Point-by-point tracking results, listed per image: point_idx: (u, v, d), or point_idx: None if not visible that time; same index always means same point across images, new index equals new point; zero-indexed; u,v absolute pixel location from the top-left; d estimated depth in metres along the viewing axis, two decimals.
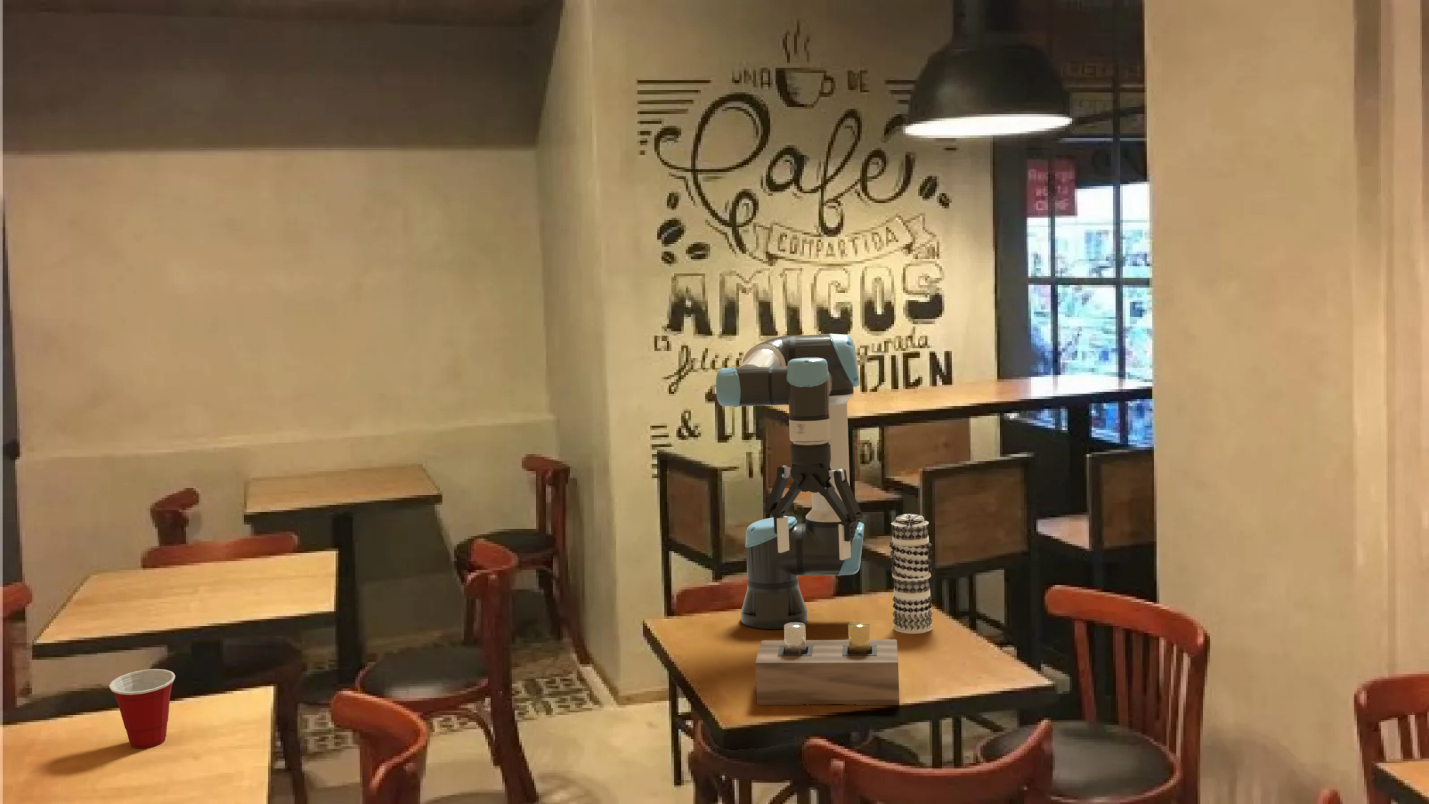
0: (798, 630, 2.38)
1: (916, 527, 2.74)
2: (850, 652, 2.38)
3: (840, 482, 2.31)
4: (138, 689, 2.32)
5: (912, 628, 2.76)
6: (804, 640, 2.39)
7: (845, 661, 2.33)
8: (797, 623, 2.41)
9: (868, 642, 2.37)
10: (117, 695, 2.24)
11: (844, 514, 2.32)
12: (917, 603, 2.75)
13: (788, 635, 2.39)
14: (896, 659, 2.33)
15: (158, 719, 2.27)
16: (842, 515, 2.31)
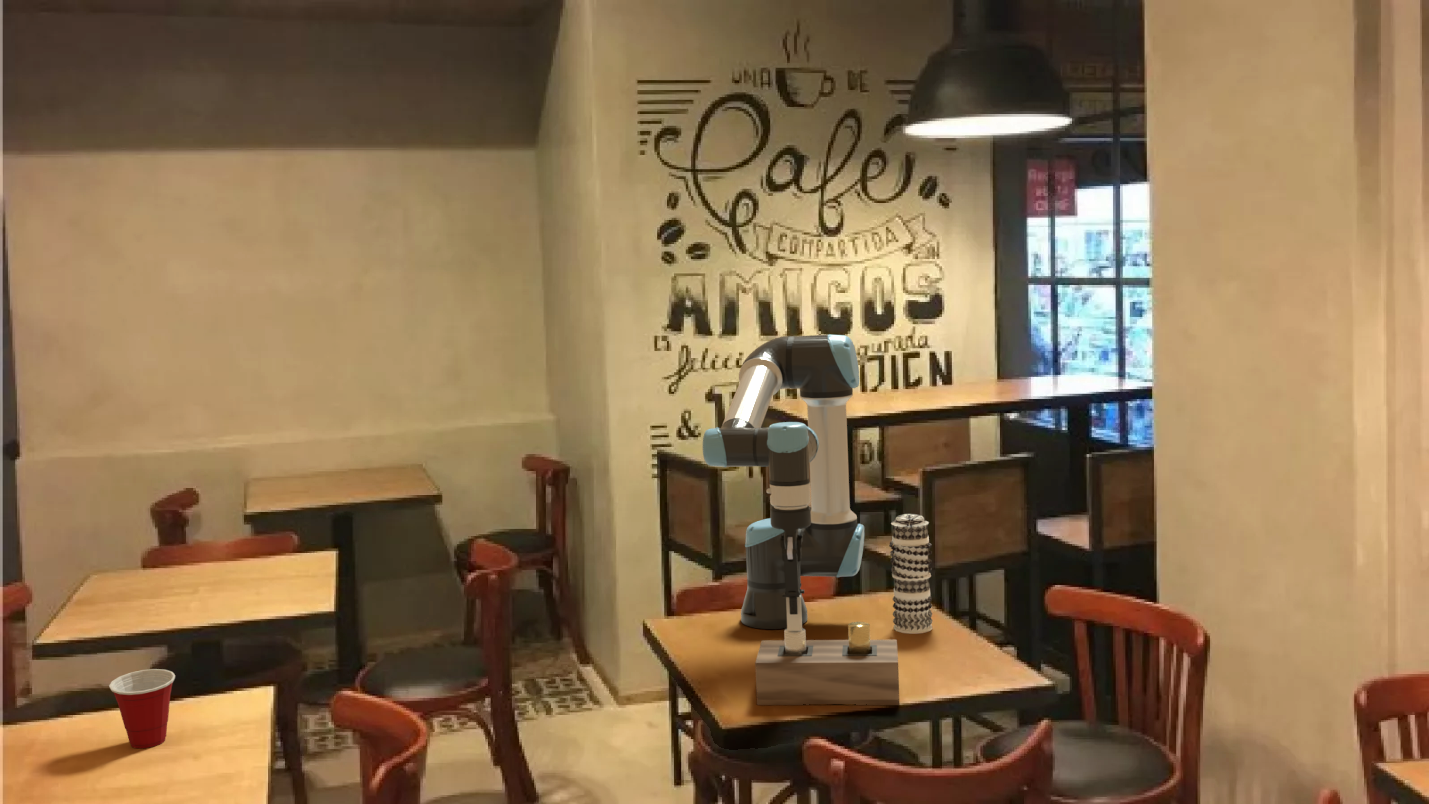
0: (799, 635, 2.38)
1: (916, 527, 2.74)
2: (850, 652, 2.38)
3: (784, 560, 2.33)
4: (138, 689, 2.32)
5: (912, 628, 2.76)
6: (804, 645, 2.39)
7: (845, 661, 2.33)
8: None
9: (868, 642, 2.37)
10: (117, 695, 2.24)
11: None
12: (917, 603, 2.75)
13: (788, 641, 2.39)
14: (896, 659, 2.33)
15: (158, 719, 2.27)
16: None
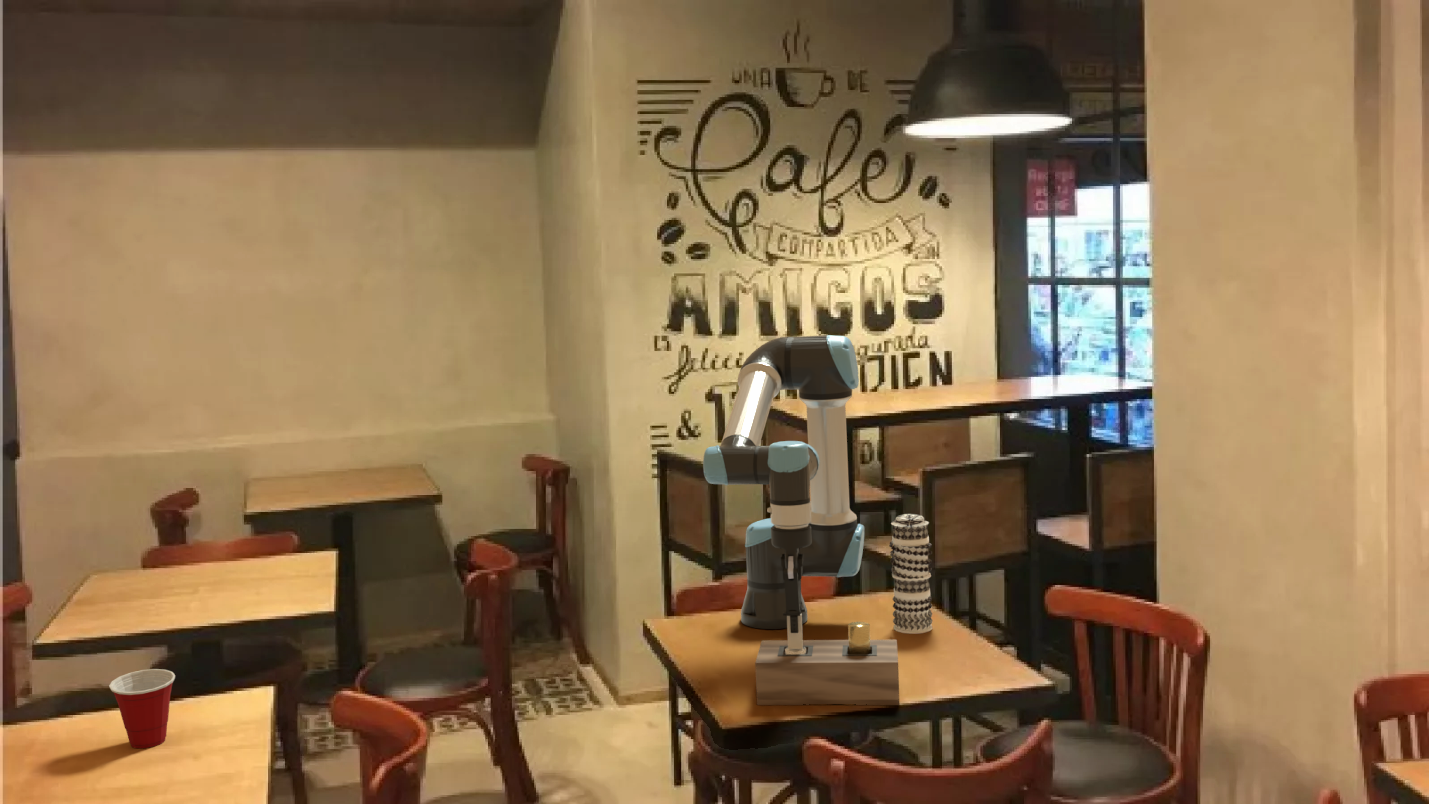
0: None
1: (916, 527, 2.74)
2: (850, 652, 2.38)
3: (785, 580, 2.34)
4: (138, 689, 2.32)
5: (912, 628, 2.76)
6: None
7: (845, 661, 2.33)
8: None
9: (868, 642, 2.37)
10: (117, 695, 2.24)
11: None
12: (917, 603, 2.75)
13: None
14: (896, 659, 2.33)
15: (158, 719, 2.27)
16: None
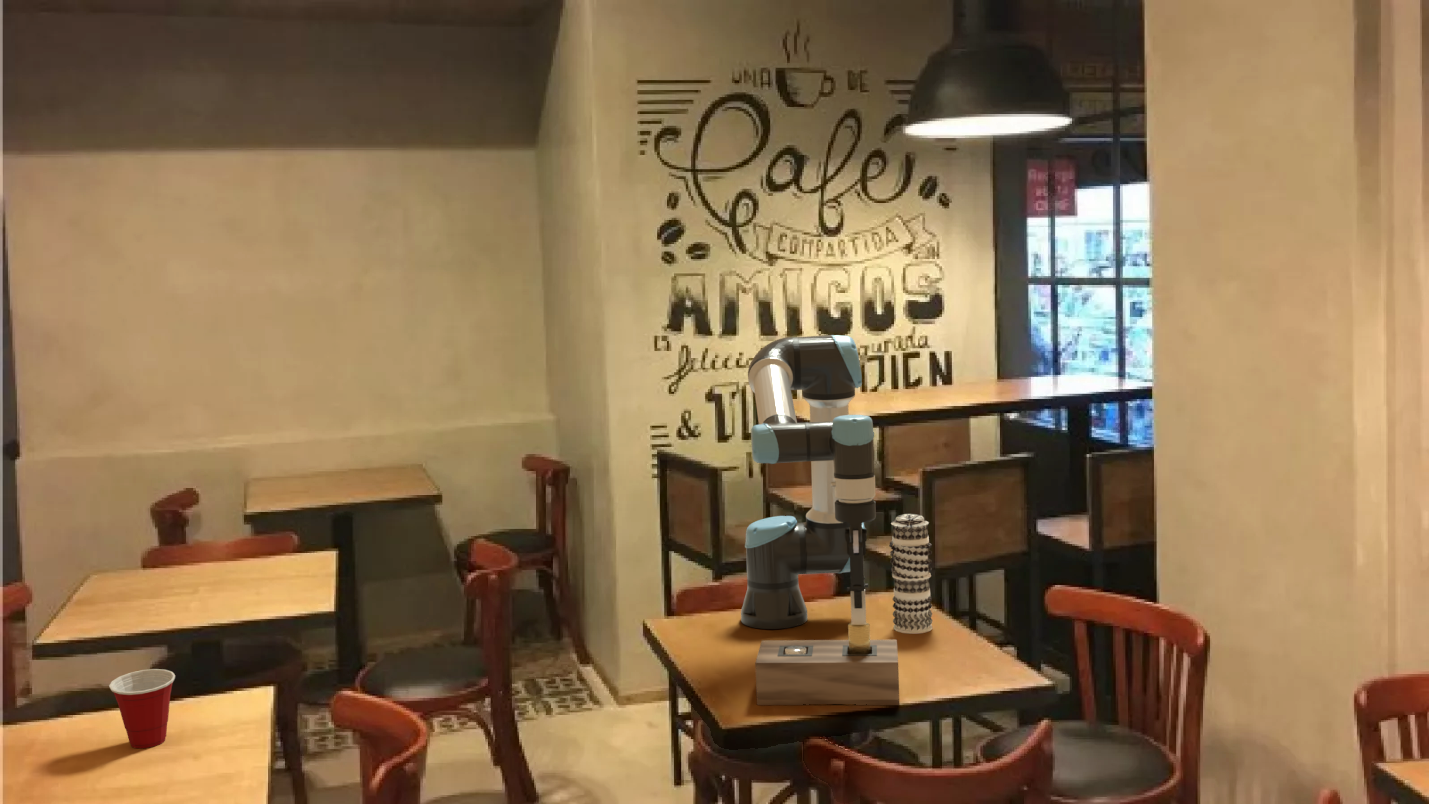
0: None
1: (916, 527, 2.74)
2: (850, 652, 2.38)
3: (850, 554, 2.32)
4: (138, 689, 2.32)
5: (912, 628, 2.76)
6: None
7: (845, 661, 2.33)
8: (798, 647, 2.41)
9: (868, 642, 2.37)
10: (117, 695, 2.24)
11: None
12: (917, 603, 2.75)
13: None
14: (896, 659, 2.33)
15: (158, 719, 2.27)
16: None
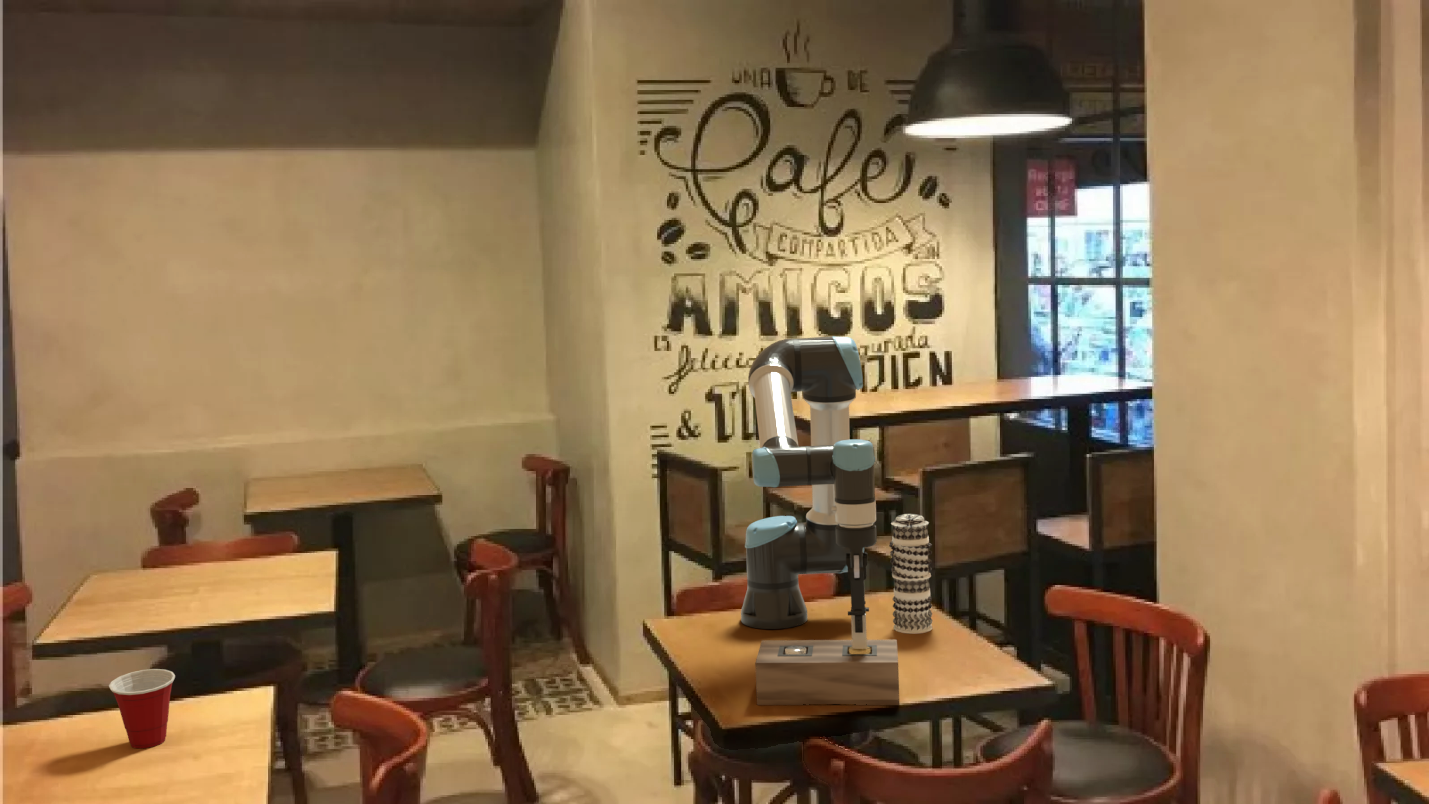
0: None
1: (916, 527, 2.74)
2: None
3: (851, 579, 2.32)
4: (138, 689, 2.32)
5: (912, 628, 2.76)
6: None
7: (845, 661, 2.33)
8: (798, 647, 2.41)
9: None
10: (117, 695, 2.24)
11: None
12: (917, 603, 2.75)
13: None
14: (896, 659, 2.33)
15: (158, 719, 2.27)
16: None
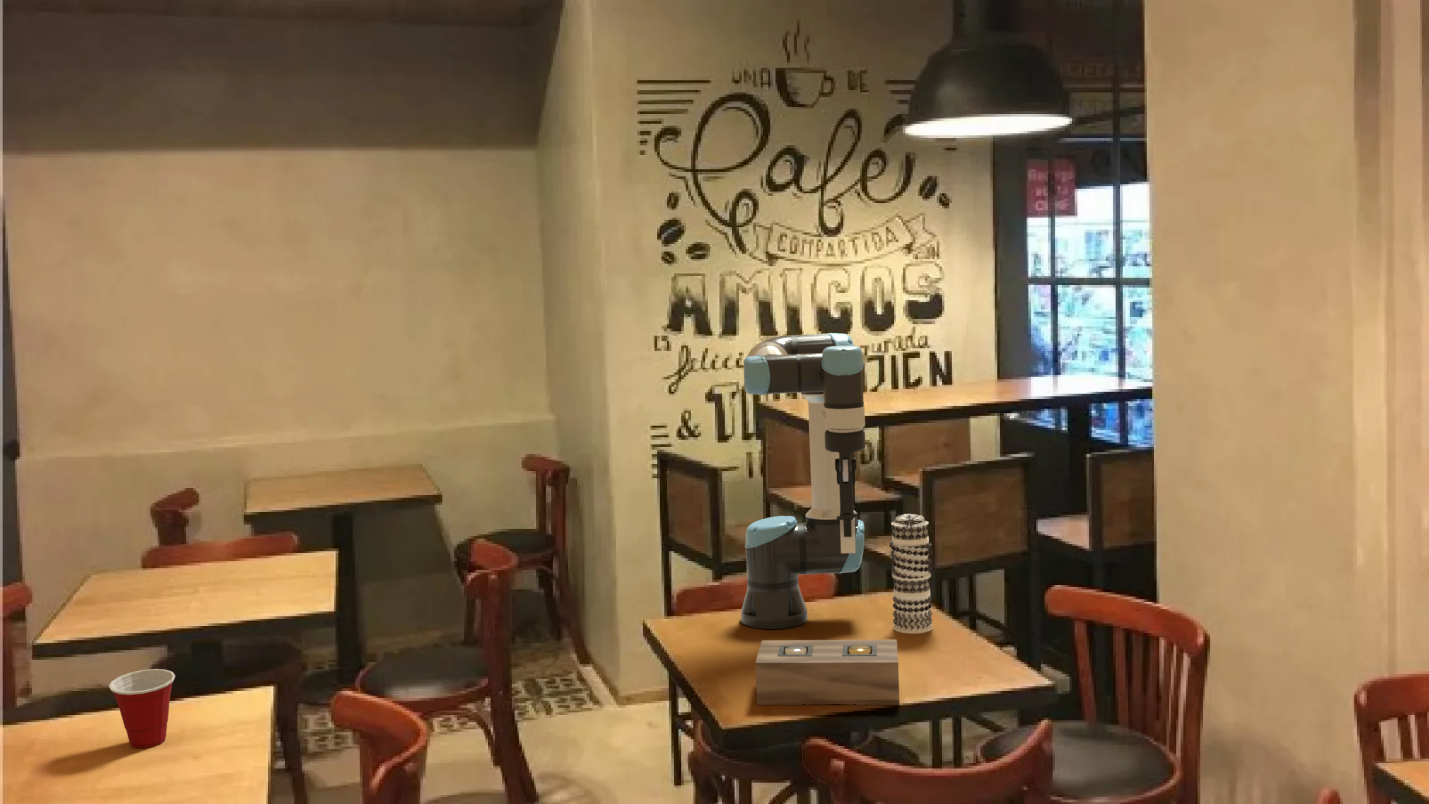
0: None
1: (916, 527, 2.74)
2: None
3: (840, 483, 2.34)
4: (138, 689, 2.32)
5: (912, 628, 2.76)
6: None
7: (845, 661, 2.33)
8: (798, 647, 2.41)
9: None
10: (117, 695, 2.24)
11: None
12: (917, 603, 2.75)
13: None
14: (896, 659, 2.33)
15: (158, 719, 2.27)
16: None
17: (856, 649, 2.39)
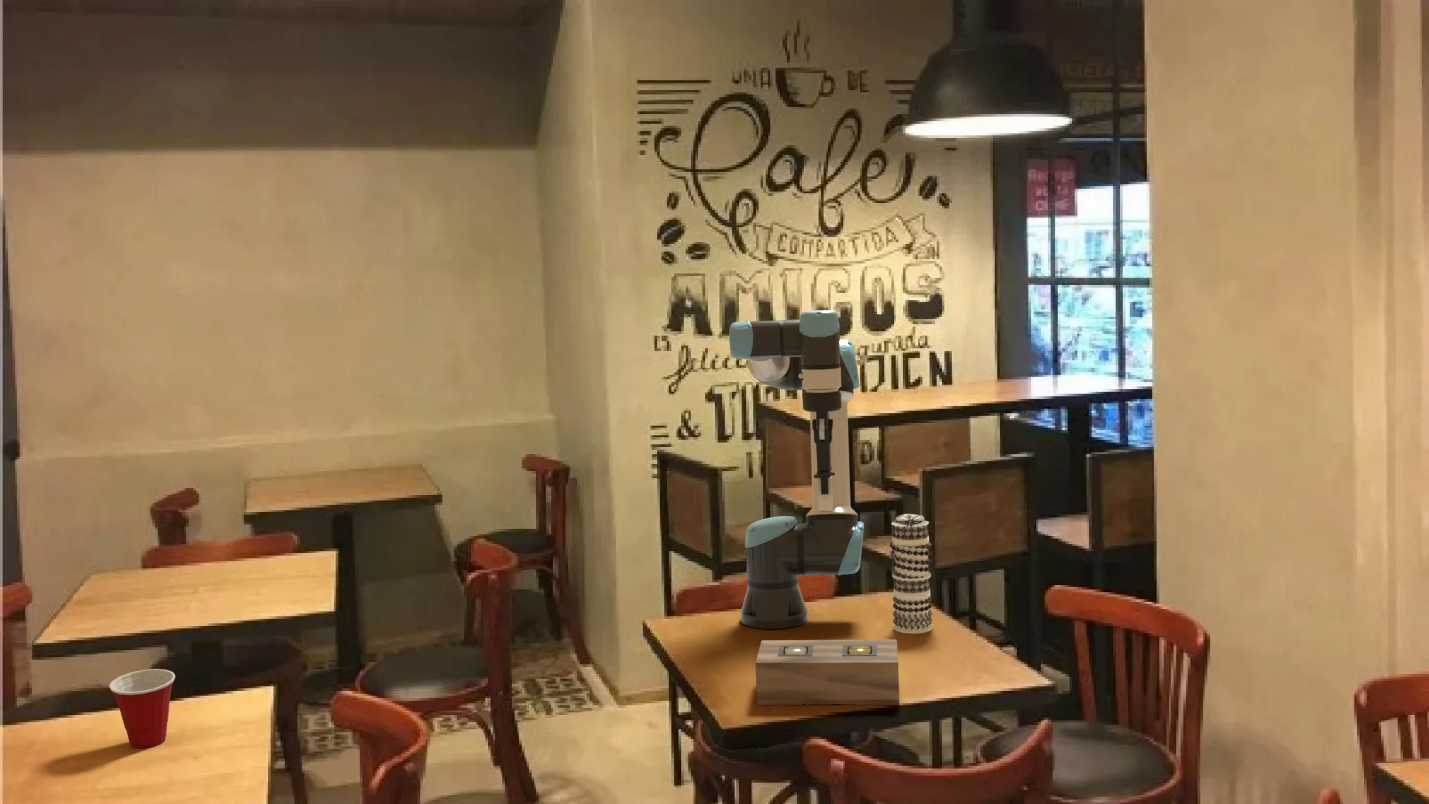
0: None
1: (916, 527, 2.74)
2: None
3: (816, 441, 2.43)
4: (138, 689, 2.32)
5: (912, 628, 2.76)
6: None
7: (845, 661, 2.33)
8: (798, 647, 2.41)
9: None
10: (117, 695, 2.24)
11: None
12: (917, 603, 2.75)
13: None
14: (896, 659, 2.33)
15: (158, 719, 2.27)
16: None
17: (856, 649, 2.39)
